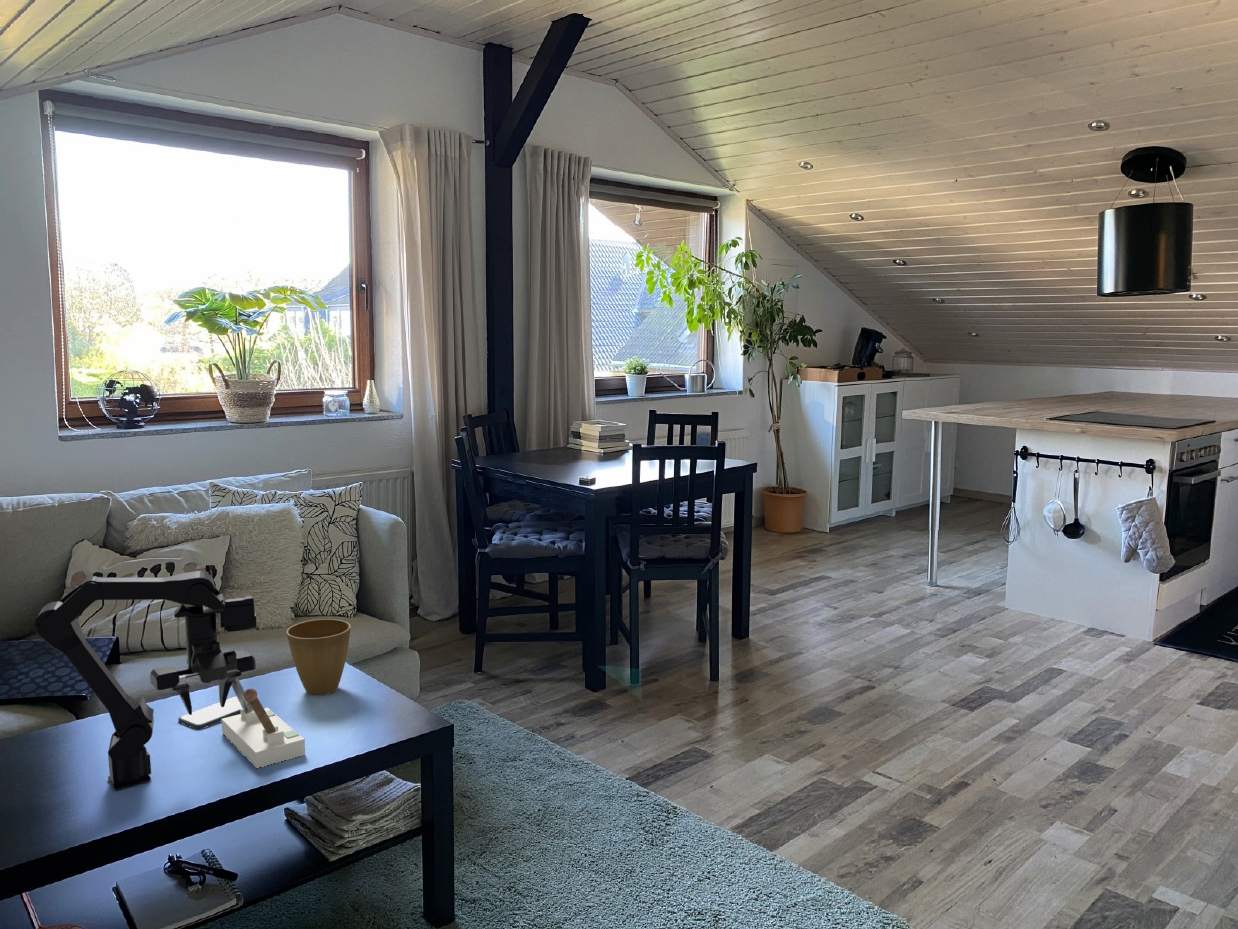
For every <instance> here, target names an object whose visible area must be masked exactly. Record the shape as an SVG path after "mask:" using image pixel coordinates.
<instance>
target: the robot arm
mask: <svg viewBox="0 0 1238 929" xmlns="http://www.w3.org/2000/svg"><path fill="white" fill-rule="evenodd" d="M254 599H255V598H254V596H253V595H249V596H247V595H246V596H244V597H238V598H237V597H236V598H228V599H226V598H225V595H224V594H223V593H221V591H219V589H218V588H217V587H216V586H215V580H214V579H213V576H211V575H210V574H209V573H208V572H206V571H203V570H196V571H189V572H182V573H178V574H174V575H171V576H164V577H99V576H96V575H94V576H93V575H92V576H88V577H85V579H84V580H83V581H82V582H81V584H79V585H78V586H76V587H74V589H72V590H71V591H69V592H68V593H67V594H66V595H64V596H63V597H62V598H61V599H60V600H58V601H52V602H49V603H47V604H45V605H44V606H43V607H42V608H41V610H40V612H39V613H38V615H37V617H36V619H35V621H34V625H33V627H34V631H35V633H36V634H37V635H38V637H40V638H41V639H42V640H43V641H44V642H45V643H46V644H48V646H50V647H52V648H53V649H55V650H57V651H58V652H60V653H62V654H63V655H64V656H65V657H66V658H67V660H68V661H69V663H70V664H71V665H72V666H73V668H74V669H75V670H76V672H77V673H78V675H79V676H81V678H82V679H83V680H84V682H85V684H87V686H88V687H89V688H90V689H91V691H92V692H93V693H94V694H95V696H96V698H98V700H99V701H100V702H101V704H102V705H103V706H104V707H105V709H106V710H107V711H108V714H109V717H110V720H111V723H112V725H113V727H114V728H113V729H114V730H115V731H114V732H113V733H112V734H111V737H110V741H109V746H108V750H107V756H108V757H107V760H108V770H109V776H107V780H108V782H109V783H110V785H111V786H112V789H114V791H119V790H122V789H125V788H129V787H133V786H136V785H140V784H143V783H144V784H145V783H148V782H150V781H152V777H151V776H150V775H151V774H152V765H151V764H152V762H151V754H150V753H149V752H148V751H147V747H146V746H145V745H146V744H147V743H149V741H150V740H151V738H152V737H153V731H154V723H155V717H154V713H155V712H154V708H152V707H150V706H149V704H148V703H147V702H146V700H145V698H144V696H143V695H140V696H139V697H138V698H137V699H136V698H134V697H132V696H130V695H129V694H127V692H126V691H125V690H124V688H123V687H122V685H121V684H120V683H119V681H118V680H117V679H116V678H115V676H114V675H113V674H112V672H111V671H110V670H109V669H108V667H107V665H105V663H104V662H103V660H102V659H101V658H100V657H99V656H98V654H97V653H96V651H95V650H94V649H93V647H92V646H91V645H90V644H89V642H88V641H87V639H86V638H85V636H84V633H83V629H82V627H81V625H80V624H81V623H80V621H79V620H78V617H79V616H80V615H81V614H82V613H84V611H86V609H88V608H89V607H90V606H91V605H93V603H95V602H96V601H121V600H122V601H124V600H125V601H126V600H128V601H129V600H131V601H133V600H134V601H135V600H136V601H138V600H143V601H144V600H147V601H148V600H151V601H152V600H164V601H168V602H169V601H170V602H172V603H177V604H180V605H179V607H177V608H176V609H175V610H174V614H173V617H174V618H177V619H179V618H184V624H185V625H184V626H185V639H184V640H185V645H186V656H187V658H186V665H187V667H183V668H180V669H176V668H174V666H173V665H167V666H161V667H156V668H152V670H151V672H150V674H149V678H150V679H149V680H150V684H151V685H152V686H153V687H154V688H155V690H157V691H163V690H167V689H168V690H169V689H171V690H172V691H174V692H175V691H176V692H177V693H178V695H179V697H180V699H181V701H182V703H183V706H184V707H185V710H186V711H187V714H189V715H192V712H193V707H192V701H191V700H192V699H191V695H190V684H188V683H187V678H188V679H189V678H191V677H196V676H198V677H199V678H200V681H201V682H202V683H204V684H208V683H211V682H215V681H218V695H219V698H218V699H219V702H220V705H221V707H224V706H225V702H226V699H228V695H229V692H230V689H231V688H232V686H231V685H232V683H233V681H234V680H235V679H236V678H237V677H238V678H239V677H242V673H245V672H249V671H254V670H256V667H257V666H256V663H257V662H256V659H255V657H254V656H253V655H252V654H250V653H249V652H248V651H246V650H245V649H244V650H239V651H235V650H231V651H226V652H222V649H221V644H220V640H219V638H218V622H217V614H219V620H220V629H224V632H226V633H227V634H229V633H239V632H246V631H257V629H258V628H257V614H256V613H257V612H256V609H255V600H254Z"/></svg>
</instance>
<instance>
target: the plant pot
mask: <svg viewBox="0 0 1238 929" xmlns="http://www.w3.org/2000/svg"><path fill="white" fill-rule="evenodd" d="M286 636H287V637H286V638H287V641H288V645H289V649H290V650H289V651H290V653H291V657H292V661H293V664H294V667H295V669H296V672H297V675H298V678H299V679H300V681H301V684H302V686H303V688H304V690H305V692H306V694H307V695H310V696H316V697H317V696H326V695H330V694H333V693H335V692H336V691H337V690H338V688H339V685H340V682H341V678H342V676H343V672H344V669H345V664H346V660H347V657H348V656H347V655H348V650H349V643H350V642H349V641H350V636H351V624H350V623H349V622H347V621H346V620H341V619H335V618H334V619H333V618H321V619H318V618H317V619H310V620H306V621H303V622H299V623H296V624H294V625H292V626H290V627H288V628H287V629H286Z"/></svg>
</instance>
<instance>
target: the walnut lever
mask: <svg viewBox="0 0 1238 929" xmlns="http://www.w3.org/2000/svg"><path fill="white" fill-rule="evenodd" d="M244 699H245V700H246V701H249V703H250V705H251V707H252V708H253V710H254V712H255V713H256V715H257V717H258V719H259V720H260V722H261V724H262V726H263V727H264V729H265V731H266V732H267V734H270V733H274V732H276V729H275V727H274V725H273V724H272V722H271V720H270V718H269V717H268V715H267V713H266V711H265V710H264V708H265V707H264V706H263V705H262V703H261V701H260V700H259V697H258V691H257V690H256V689H254V688H247V689H246V690H244Z"/></svg>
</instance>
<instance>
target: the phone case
mask: <svg viewBox="0 0 1238 929" xmlns="http://www.w3.org/2000/svg"><path fill="white" fill-rule="evenodd" d="M240 709H243V708H242V706H241V704H240V702H239V700H238V698H237V696H236V695H235V696H233V697H229V698H227V699H226V702H225V706H224V707H221V705H220V701H218V702H216V703H213V704H210V705H208V706H205V707H202V708H199V709H197V710H194V711H192V715H189V714H188V713H186V714H183V715H181V716H179V717H178V723H179V722H181V723H183V724H185V725H184V726H186V725H187V726H186V727H188V726H191V727H193V728H195V729H194V730H203V729H205V728H204V727H206V726H209V727H211V726H213V725H212V724H214V725H216V724H215V723H217V722H220V721H222V720H221V719H223V718H227V717H231V716H235V715H239V714H241V710H240ZM181 723H180V724H181ZM220 723H221V722H220ZM183 724H182V725H183ZM217 724H218V723H217ZM210 725H211V726H210ZM191 727H190V728H191ZM193 728H192V729H193ZM202 728H203V729H202ZM206 728H207V727H206Z"/></svg>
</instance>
